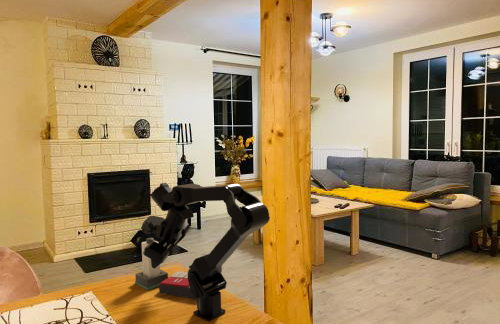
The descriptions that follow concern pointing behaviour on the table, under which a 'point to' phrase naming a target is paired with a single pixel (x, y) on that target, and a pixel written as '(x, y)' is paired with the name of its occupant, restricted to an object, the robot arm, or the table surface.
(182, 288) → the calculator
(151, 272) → the plug
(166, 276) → the grey and green tray
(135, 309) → the table surface
